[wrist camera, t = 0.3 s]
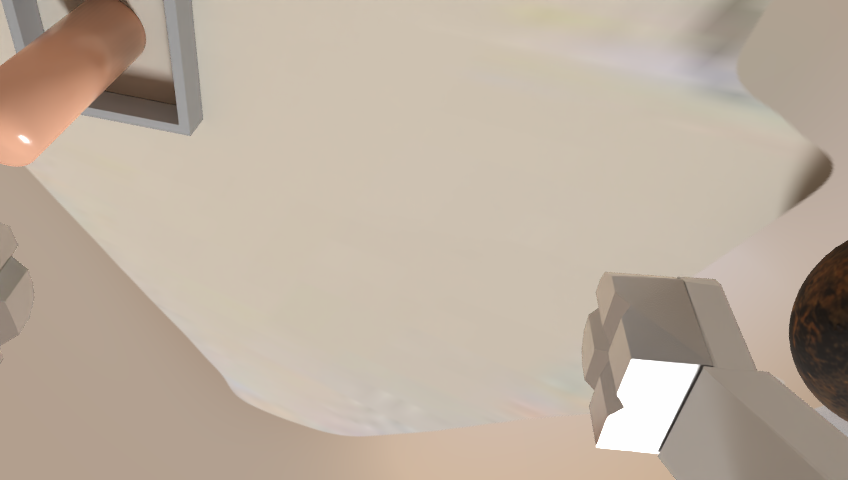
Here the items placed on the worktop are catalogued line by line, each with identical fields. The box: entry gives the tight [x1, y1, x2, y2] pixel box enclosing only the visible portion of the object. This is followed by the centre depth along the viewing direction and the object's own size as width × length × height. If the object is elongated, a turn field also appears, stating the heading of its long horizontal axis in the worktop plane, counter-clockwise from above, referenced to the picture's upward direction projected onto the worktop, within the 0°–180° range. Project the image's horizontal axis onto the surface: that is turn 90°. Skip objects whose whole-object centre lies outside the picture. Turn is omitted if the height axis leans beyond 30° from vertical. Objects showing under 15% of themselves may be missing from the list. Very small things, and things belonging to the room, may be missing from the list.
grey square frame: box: [1, 0, 203, 136], centre depth 50 cm, size 13×13×2 cm
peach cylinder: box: [0, 0, 146, 166], centre depth 46 cm, size 5×5×14 cm
